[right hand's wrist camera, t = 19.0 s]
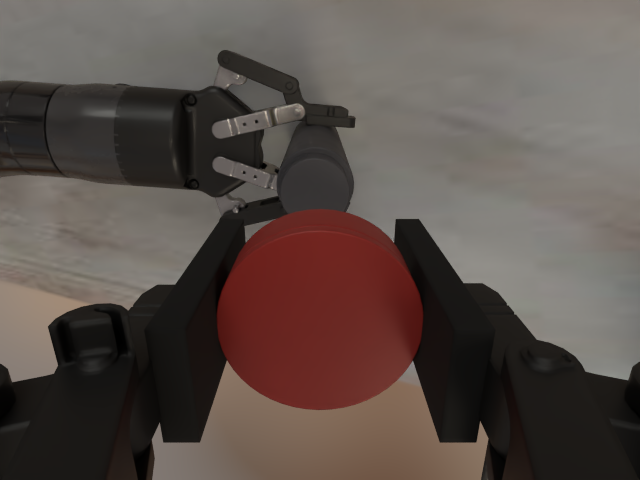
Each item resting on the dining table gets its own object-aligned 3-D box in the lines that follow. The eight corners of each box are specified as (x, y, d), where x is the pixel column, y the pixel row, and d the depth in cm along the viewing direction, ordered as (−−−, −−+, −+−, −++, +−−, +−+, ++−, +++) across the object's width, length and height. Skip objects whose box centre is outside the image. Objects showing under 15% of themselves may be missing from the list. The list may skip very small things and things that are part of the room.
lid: (428, 222, 11) (447, 247, 10) (389, 377, 13) (399, 420, 11) (237, 195, 11) (222, 216, 9) (224, 357, 13) (210, 398, 11)
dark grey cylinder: (286, 151, 40) (261, 212, 22) (304, 108, 38) (293, 137, 21) (326, 169, 40) (334, 244, 23) (346, 128, 39) (370, 173, 21)
